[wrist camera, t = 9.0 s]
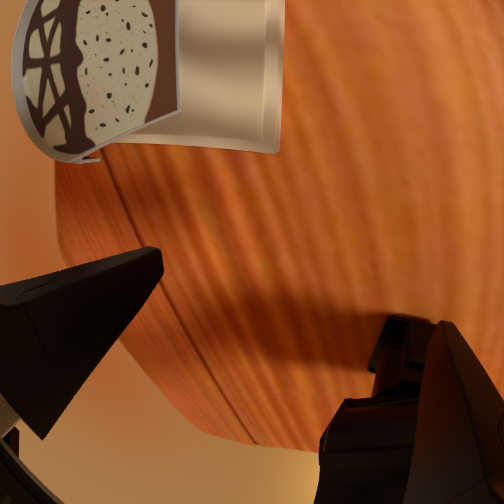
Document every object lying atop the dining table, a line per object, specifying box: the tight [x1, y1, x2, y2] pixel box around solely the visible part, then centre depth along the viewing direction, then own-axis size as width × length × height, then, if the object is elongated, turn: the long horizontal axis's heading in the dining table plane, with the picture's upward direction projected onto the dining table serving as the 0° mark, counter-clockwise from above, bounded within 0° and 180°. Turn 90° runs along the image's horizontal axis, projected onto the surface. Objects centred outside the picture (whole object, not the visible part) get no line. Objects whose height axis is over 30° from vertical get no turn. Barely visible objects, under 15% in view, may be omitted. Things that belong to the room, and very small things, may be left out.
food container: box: [11, 0, 181, 164], centre depth 15 cm, size 12×6×10 cm, turn 1°
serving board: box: [112, 0, 285, 154], centre depth 19 cm, size 16×16×2 cm
